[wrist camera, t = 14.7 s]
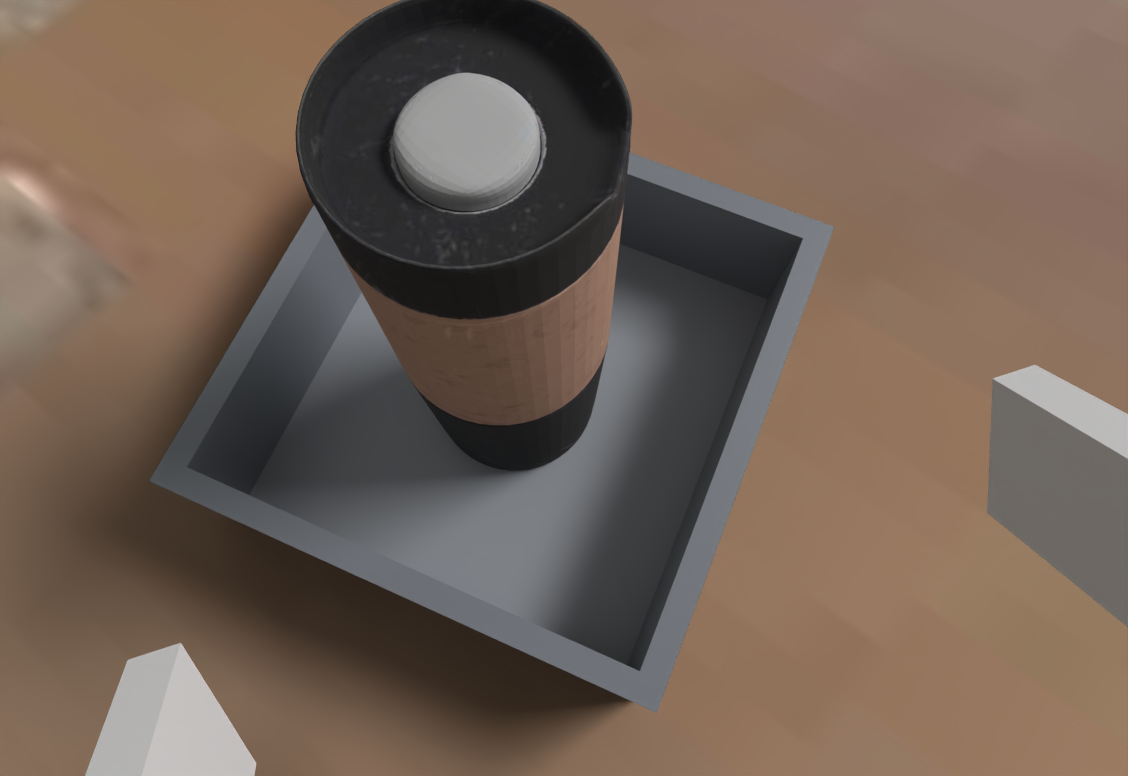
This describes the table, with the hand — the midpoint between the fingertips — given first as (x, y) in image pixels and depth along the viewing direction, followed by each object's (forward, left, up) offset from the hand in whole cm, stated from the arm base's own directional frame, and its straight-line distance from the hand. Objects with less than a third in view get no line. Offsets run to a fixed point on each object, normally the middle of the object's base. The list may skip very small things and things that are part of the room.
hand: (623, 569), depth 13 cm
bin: (-7, +8, -23) cm, 25 cm away
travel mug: (-7, +8, -22) cm, 24 cm away
